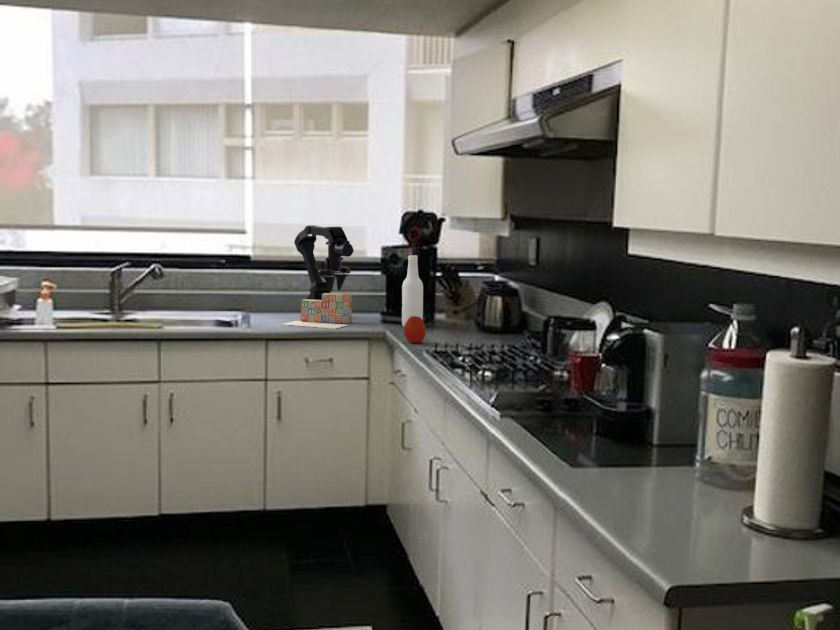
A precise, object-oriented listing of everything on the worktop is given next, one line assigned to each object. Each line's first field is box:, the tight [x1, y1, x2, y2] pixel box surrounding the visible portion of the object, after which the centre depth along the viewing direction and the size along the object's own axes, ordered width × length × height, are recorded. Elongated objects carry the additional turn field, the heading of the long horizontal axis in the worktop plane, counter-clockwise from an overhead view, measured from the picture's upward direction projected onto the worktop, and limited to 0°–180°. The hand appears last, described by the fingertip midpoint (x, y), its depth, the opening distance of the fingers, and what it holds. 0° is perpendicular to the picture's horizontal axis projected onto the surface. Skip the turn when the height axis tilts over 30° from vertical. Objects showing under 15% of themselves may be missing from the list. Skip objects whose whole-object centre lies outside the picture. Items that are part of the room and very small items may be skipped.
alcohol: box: [401, 254, 424, 328], centre depth 383 cm, size 9×9×30 cm
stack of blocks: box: [300, 292, 353, 324], centre depth 394 cm, size 21×6×12 cm, turn 84°
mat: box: [282, 320, 349, 330], centre depth 385 cm, size 12×26×1 cm, turn 67°
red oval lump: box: [402, 316, 426, 344], centre depth 342 cm, size 8×8×11 cm
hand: (334, 290), depth 400 cm, fingers open, 7 cm apart
